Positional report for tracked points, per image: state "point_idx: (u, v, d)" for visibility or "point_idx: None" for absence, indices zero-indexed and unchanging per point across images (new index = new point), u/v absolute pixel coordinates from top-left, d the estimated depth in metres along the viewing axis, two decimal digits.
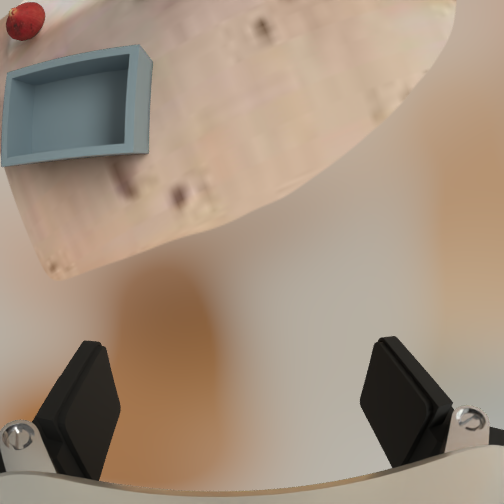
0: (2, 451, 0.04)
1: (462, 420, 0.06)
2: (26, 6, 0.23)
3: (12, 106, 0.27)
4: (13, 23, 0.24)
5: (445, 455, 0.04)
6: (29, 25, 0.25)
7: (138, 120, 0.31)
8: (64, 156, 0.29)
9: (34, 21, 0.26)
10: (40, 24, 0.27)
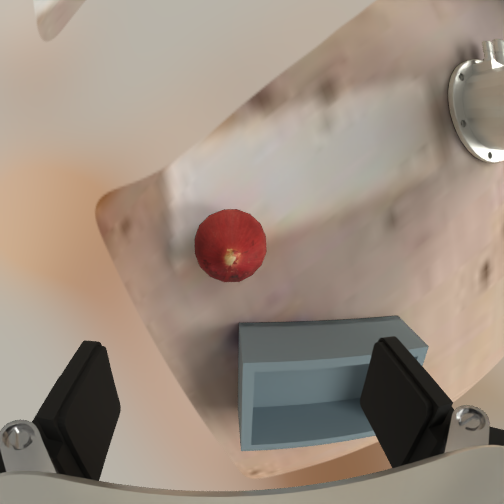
0: (2, 451, 0.04)
1: (462, 420, 0.06)
2: (251, 241, 0.23)
3: None
4: (232, 274, 0.24)
5: (445, 455, 0.04)
6: (254, 271, 0.26)
7: None
8: (331, 442, 0.30)
9: (261, 263, 0.26)
10: None
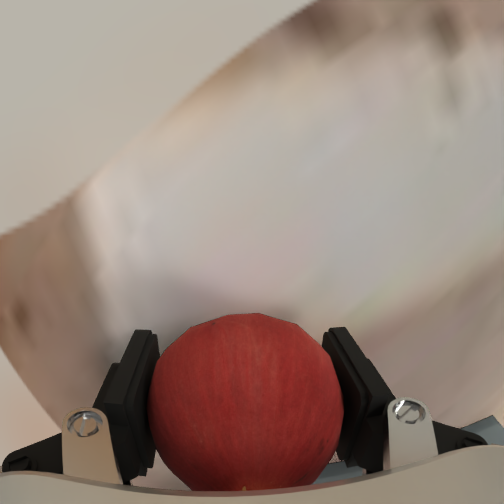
0: (69, 440, 0.05)
1: (399, 414, 0.07)
2: (317, 445, 0.06)
3: None
4: None
5: (445, 455, 0.04)
6: None
7: None
8: None
9: None
10: None
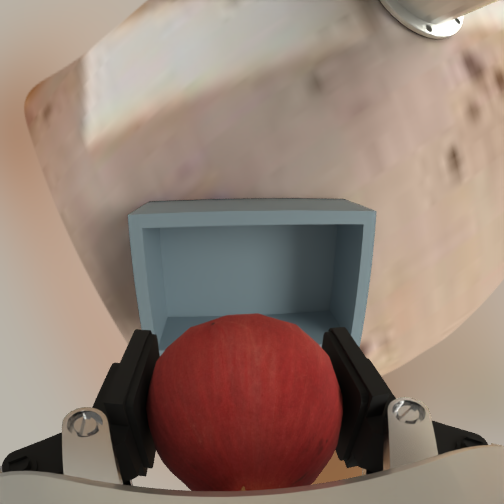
0: (69, 439, 0.05)
1: (400, 414, 0.07)
2: (316, 445, 0.06)
3: (148, 272, 0.23)
4: None
5: (445, 455, 0.04)
6: None
7: None
8: None
9: None
10: None
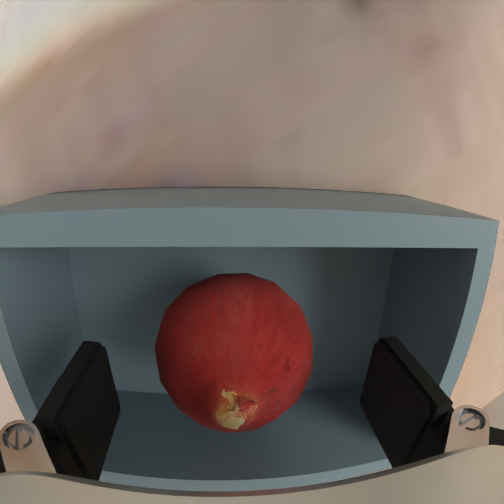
0: (2, 451, 0.04)
1: (462, 420, 0.06)
2: (284, 362, 0.09)
3: (21, 336, 0.09)
4: (239, 431, 0.09)
5: (445, 455, 0.04)
6: None
7: None
8: (256, 488, 0.11)
9: None
10: None
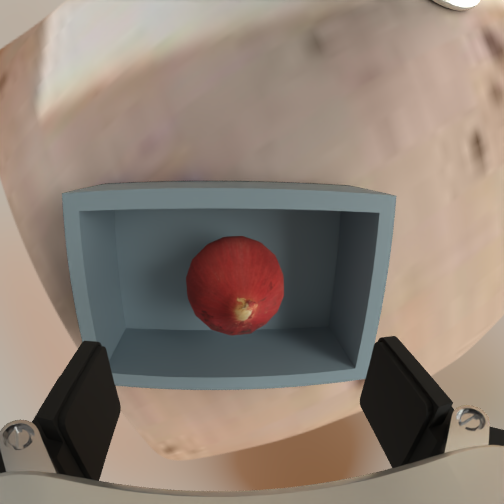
0: (2, 451, 0.04)
1: (462, 420, 0.06)
2: (269, 283, 0.17)
3: (90, 271, 0.17)
4: (243, 328, 0.17)
5: (445, 455, 0.04)
6: None
7: None
8: (242, 387, 0.19)
9: (278, 307, 0.19)
10: None
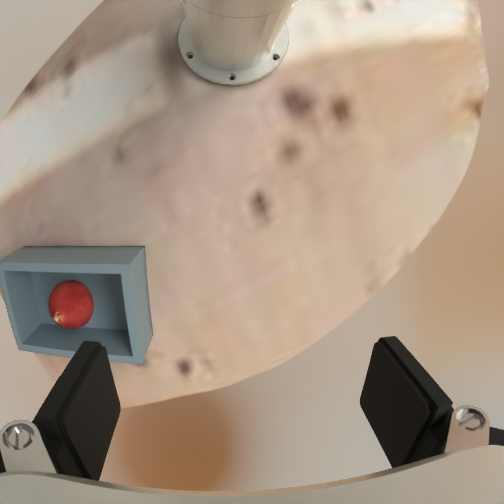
0: (2, 451, 0.04)
1: (462, 420, 0.06)
2: (71, 306, 0.31)
3: (12, 295, 0.31)
4: (64, 326, 0.31)
5: (445, 455, 0.04)
6: (83, 323, 0.33)
7: (141, 330, 0.35)
8: None
9: (87, 317, 0.33)
10: None
